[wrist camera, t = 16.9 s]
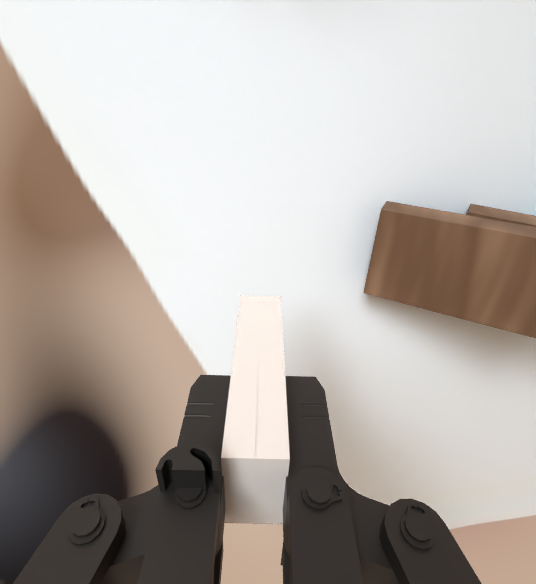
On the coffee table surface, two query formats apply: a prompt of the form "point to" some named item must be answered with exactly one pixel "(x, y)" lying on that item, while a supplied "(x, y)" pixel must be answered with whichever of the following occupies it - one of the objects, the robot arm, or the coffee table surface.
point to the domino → (456, 266)
